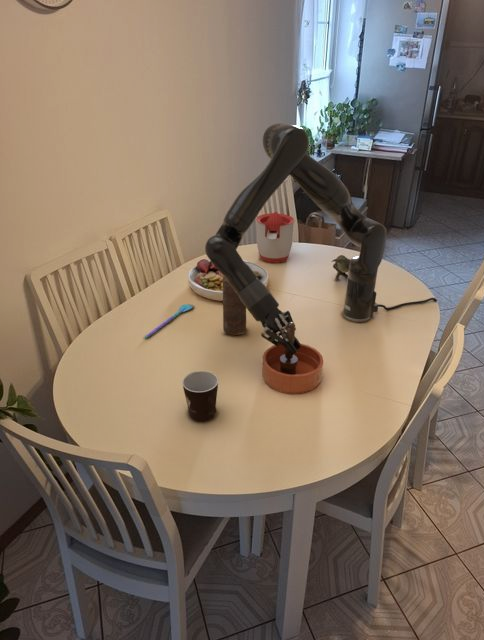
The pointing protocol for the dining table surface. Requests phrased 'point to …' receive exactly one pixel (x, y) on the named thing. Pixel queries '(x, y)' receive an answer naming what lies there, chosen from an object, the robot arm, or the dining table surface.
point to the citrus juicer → (274, 236)
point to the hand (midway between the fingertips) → (296, 350)
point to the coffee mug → (201, 394)
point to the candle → (233, 311)
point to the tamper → (287, 360)
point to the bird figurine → (341, 266)
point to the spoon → (181, 309)
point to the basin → (305, 370)
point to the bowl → (217, 278)
